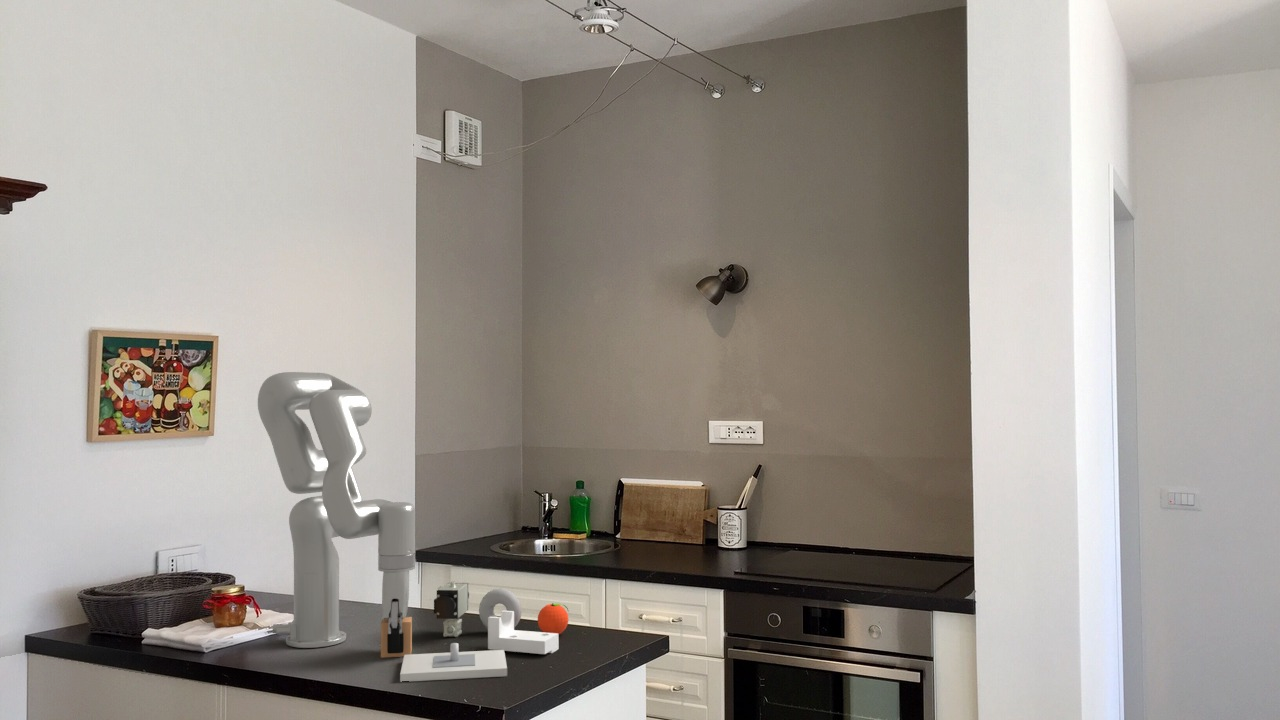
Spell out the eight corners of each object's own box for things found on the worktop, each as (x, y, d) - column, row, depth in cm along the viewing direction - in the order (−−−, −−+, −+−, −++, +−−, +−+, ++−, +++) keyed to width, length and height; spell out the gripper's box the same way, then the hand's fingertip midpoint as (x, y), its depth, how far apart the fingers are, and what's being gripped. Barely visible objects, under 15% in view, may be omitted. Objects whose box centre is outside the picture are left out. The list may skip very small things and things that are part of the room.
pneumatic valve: (469, 629, 230) (469, 576, 230) (455, 642, 218) (455, 586, 218) (446, 628, 230) (446, 576, 231) (430, 641, 219) (430, 586, 219)
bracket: (487, 653, 209) (488, 617, 210) (503, 645, 216) (503, 610, 216) (544, 658, 205) (544, 621, 205) (558, 650, 212) (558, 614, 212)
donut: (523, 632, 227) (523, 587, 227) (518, 635, 223) (518, 590, 224) (482, 630, 229) (482, 586, 229) (476, 633, 225) (476, 589, 226)
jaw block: (380, 657, 206) (380, 623, 206) (382, 651, 210) (382, 618, 211) (410, 656, 207) (410, 622, 207) (411, 650, 211) (411, 616, 212)
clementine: (559, 629, 230) (559, 598, 230) (578, 634, 225) (578, 602, 225) (531, 635, 224) (531, 603, 224) (550, 640, 219) (550, 608, 219)
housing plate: (400, 681, 188) (400, 655, 188) (404, 662, 202) (404, 637, 202) (507, 676, 192) (507, 650, 192) (504, 657, 205) (504, 633, 206)
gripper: (381, 556, 217) (381, 639, 216) (374, 570, 200) (374, 660, 199) (416, 554, 218) (416, 637, 218) (413, 568, 201) (412, 658, 201)
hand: (396, 647), depth 209 cm, fingers open, 6 cm apart
